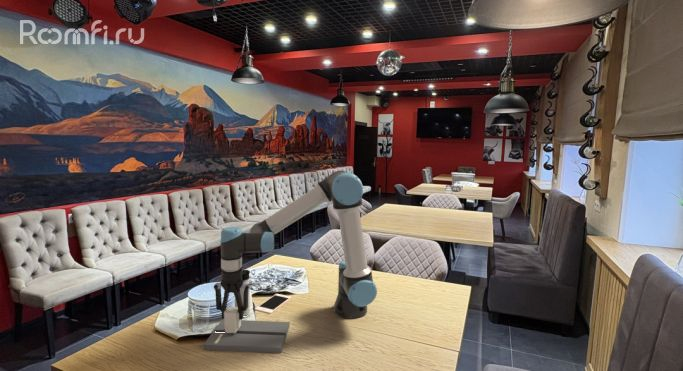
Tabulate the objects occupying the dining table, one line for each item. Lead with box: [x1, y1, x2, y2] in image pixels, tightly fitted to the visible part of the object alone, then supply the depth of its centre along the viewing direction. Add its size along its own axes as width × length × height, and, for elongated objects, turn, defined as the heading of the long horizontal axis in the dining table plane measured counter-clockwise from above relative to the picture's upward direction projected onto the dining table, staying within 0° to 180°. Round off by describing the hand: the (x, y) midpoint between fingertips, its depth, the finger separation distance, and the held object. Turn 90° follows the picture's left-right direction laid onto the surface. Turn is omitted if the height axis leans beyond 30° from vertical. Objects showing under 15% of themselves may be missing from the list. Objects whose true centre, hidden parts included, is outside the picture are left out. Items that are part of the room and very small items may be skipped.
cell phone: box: [254, 293, 292, 315], centre depth 162 cm, size 9×18×1 cm, turn 157°
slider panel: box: [203, 318, 291, 354], centre depth 133 cm, size 28×18×2 cm, turn 88°
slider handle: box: [225, 306, 238, 333], centre depth 133 cm, size 4×5×10 cm
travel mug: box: [234, 269, 251, 316], centre depth 149 cm, size 6×7×20 cm
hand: (232, 326), depth 133 cm, fingers closed on slider handle, 4 cm apart
